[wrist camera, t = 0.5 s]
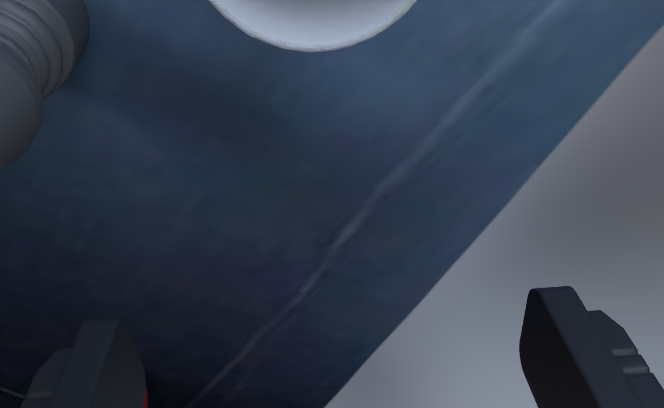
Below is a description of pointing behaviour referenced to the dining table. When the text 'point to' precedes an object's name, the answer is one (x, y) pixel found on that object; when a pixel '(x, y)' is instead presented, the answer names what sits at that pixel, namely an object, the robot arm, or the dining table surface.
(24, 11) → the candle holder
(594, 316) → the robot arm
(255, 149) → the dining table surface
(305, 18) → the teacup
